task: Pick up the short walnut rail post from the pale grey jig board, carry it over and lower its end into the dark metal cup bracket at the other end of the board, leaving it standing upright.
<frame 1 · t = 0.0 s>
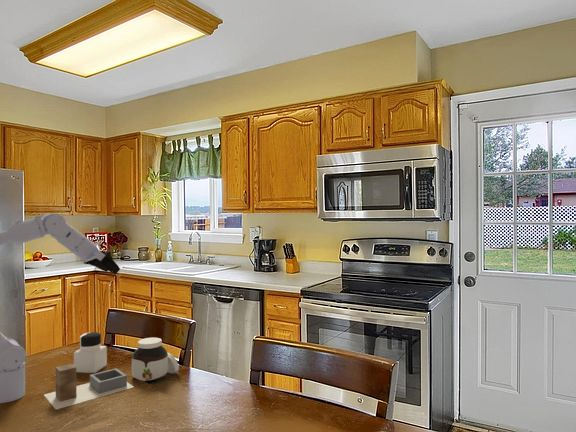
hand: (113, 270, 133), 32 cm above the table, tool tilted 50°, fingers open, 7 cm apart
jig board: (89, 394, 117), on the table
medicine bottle: (90, 372, 135), on the table
rail post: (66, 397, 113), point 1 cm above the table, touching jig board
spread jar: (156, 378, 130), on the table
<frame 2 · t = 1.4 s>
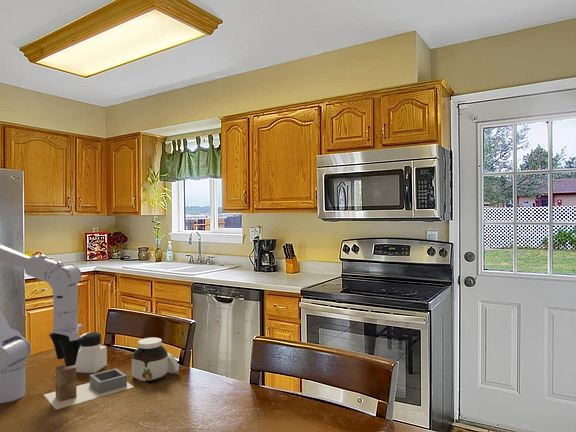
hand: (66, 361, 113), 10 cm above the table, tool pointing down, fingers open, 7 cm apart
nothing on the table moved.
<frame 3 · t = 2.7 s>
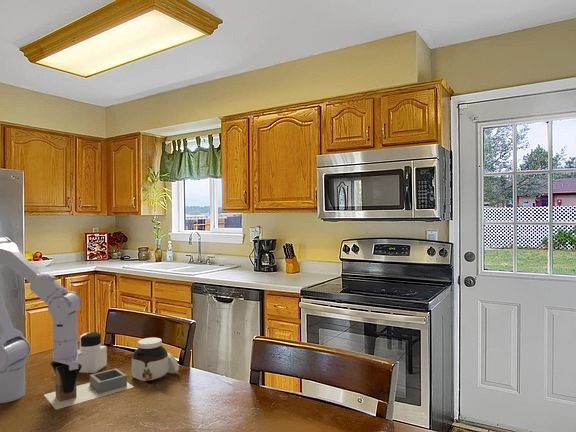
hand: (66, 389, 113), 3 cm above the table, tool pointing down, fingers closed on rail post, 4 cm apart
rail post: (66, 397, 113), point 1 cm above the table, touching gripper, jig board
everything else where it was.
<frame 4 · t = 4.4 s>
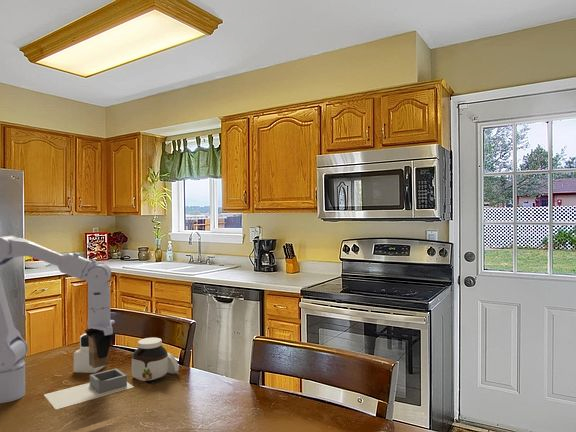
hand: (100, 355, 119), 10 cm above the table, tool pointing down, fingers closed on rail post, 4 cm apart
rail post: (99, 364, 119), point 8 cm above the table, touching gripper
everything else where it was.
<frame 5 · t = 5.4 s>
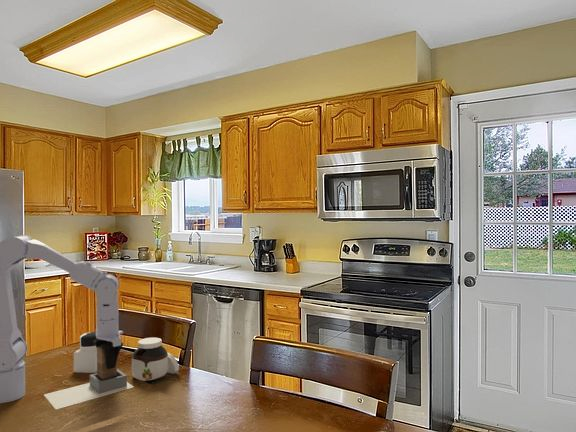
hand: (108, 366, 121), 7 cm above the table, tool pointing down, fingers closed on rail post, 4 cm apart
rail post: (107, 375, 121), point 4 cm above the table, touching gripper
everything else where it was.
when the fingers open (5 cm above the table, at t = 6.3 s): rail post stays where it is, resting on jig board.
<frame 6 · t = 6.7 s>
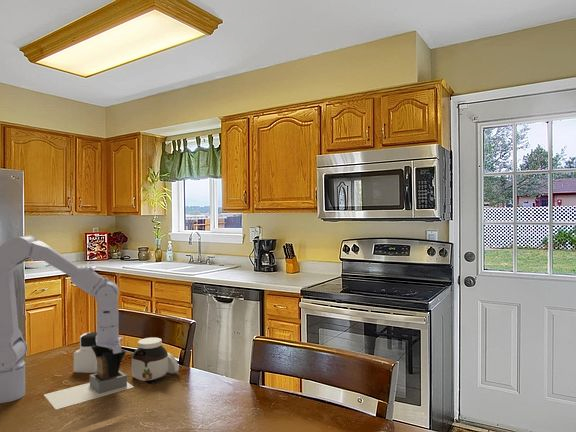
hand: (108, 372, 121), 5 cm above the table, tool pointing down, fingers open, 7 cm apart
rail post: (107, 385, 121), point 1 cm above the table, touching jig board
everything else where it was.
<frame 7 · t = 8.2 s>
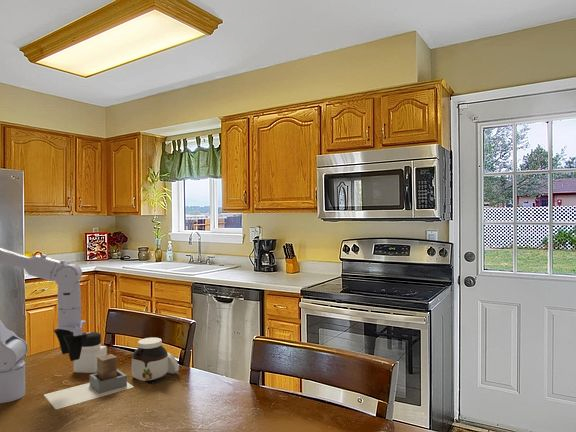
hand: (70, 356, 118), 10 cm above the table, tool pointing down, fingers open, 7 cm apart
nothing on the table moved.
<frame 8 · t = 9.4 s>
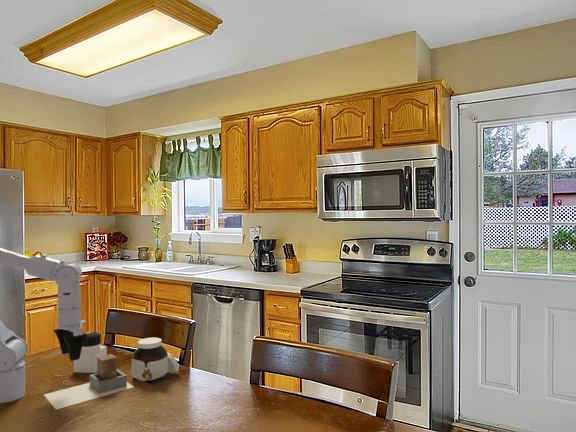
hand: (70, 356, 118), 10 cm above the table, tool pointing down, fingers open, 7 cm apart
nothing on the table moved.
at the end: rail post 0.3 cm from the target spot on the jig board, point 1.2 cm above the jig board's base; rail post tilted 0°; the gripper is holding nothing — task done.
